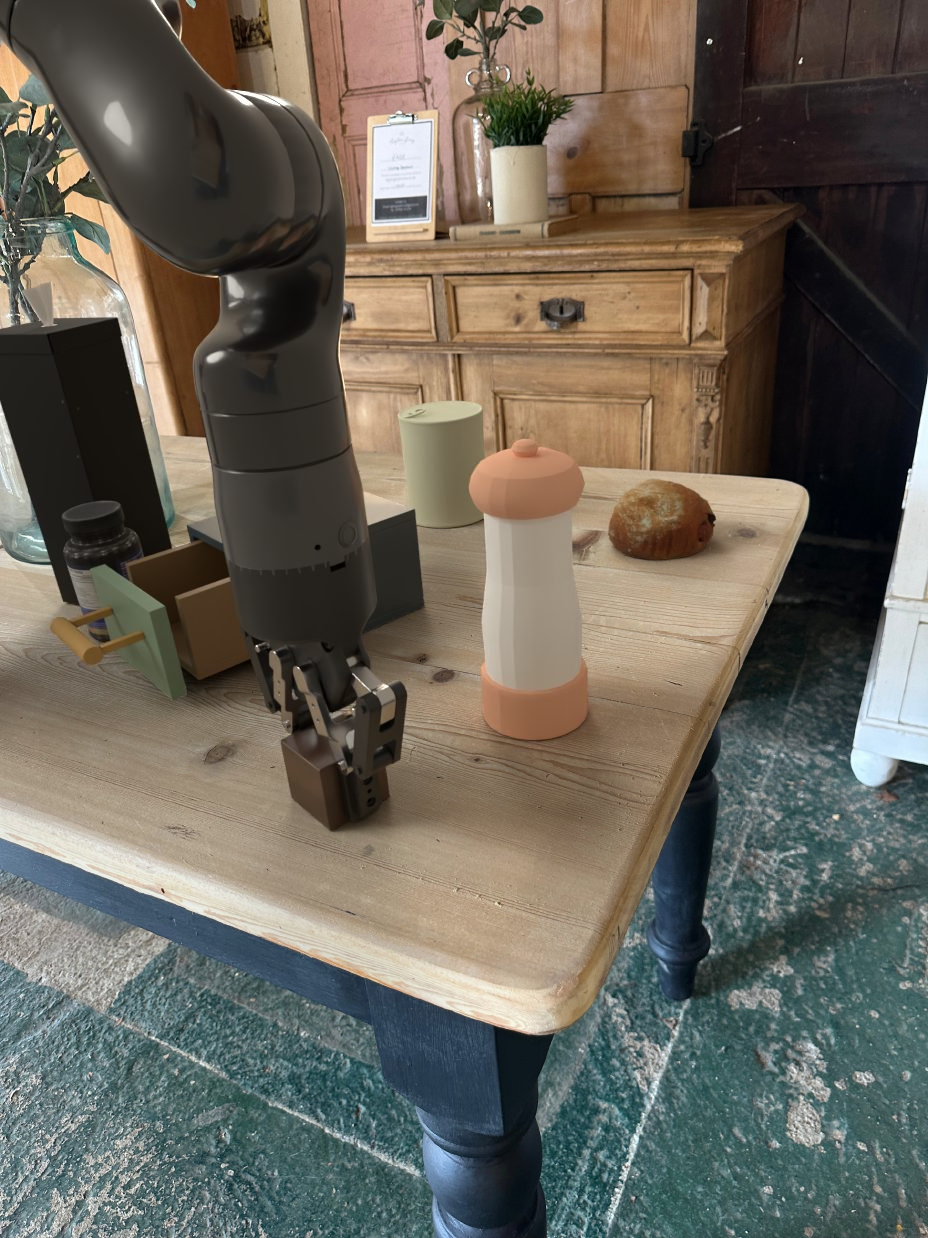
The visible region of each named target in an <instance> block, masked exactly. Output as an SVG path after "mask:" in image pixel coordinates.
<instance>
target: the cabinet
mask: <svg viewBox="0 0 928 1238" xmlns="http://www.w3.org/2000/svg"><path fill="white" fill-rule="evenodd" d="M363 493H364V501H365V509H366V517H367V525H368V532H369V540H370V548H371V555H372V563H373V571H374V579H375V586H376V594H377V604H376V607H375V610H374V612H373V613H372V615H371V616H370V618H369V619H368V621H367V622H366V624H365V626H364V628H363V631H362V635H363V634H365V633H367V632H370V631H372V630H374V629H376V628H379V627H381V626H384V625H385V624H388V623H390V622H392V621H395V620H397V619H399V618H401V617H404V616H406V615H408V614H411V613H413V612H415V611H418V610H420V609H422V608H424V607H425V606H426V603H425V595H424V594H425V593H424V585H423V575H422V574H423V573H422V566H421V565H422V564H421V555H420V545H419V535H418V525H417V524H416V513H415V509H414V508H411V507H408V505H405V504H402V503H399V502H396V501H394V500H390V499H387V498H384V497H381V496H378V495H376V494H373V493H371V492H368V491H364V490H363ZM186 529H187V533H188V538H189V543H191V542H194V541H197V540H202V541H204V542H205V543H207V544H209V545H211V546H213V547H215V548H217V549H219V550H221V551H222V552H224V548H223V544H222V539H221V534H220V530H219V525H218V520H217V515H213V516H210V517H207V518H204V519H201V520H196V521H195V522H191V523H187V524H186Z"/></svg>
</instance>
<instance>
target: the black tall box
mask: <svg viewBox="0 0 928 1238" xmlns="http://www.w3.org/2000/svg"><path fill="white" fill-rule="evenodd" d="M53 291H54V289H53V281H49V282H44V283H40V284H37V285H36V286H34V287H29V288H26V289H22V290H21V293H22V295H23V297H25V299H26V300H27V303H28V304H29V305H30V307H31V308H32V310H33V311H34V313H35V314H36V316H37V317H38V319H39V320H35V321H31V322H30V321H29V322H26V323H21V324H17V325H11V326H7V327H2V328H0V406H1V410H2V412H3V416H4V419H5V422H6V425H7V429H8V432H9V436H10V438H11V442H12V444H13V447H14V451H15V454H16V456H17V460H18V463H19V466H20V470H21V473H22V476H23V480H24V482H25V485H26V489H27V492H28V495H29V499H30V502H31V504H32V508H33V511H34V514H35V517H36V521H37V524H38V528H39V531H40V533H41V537H42V539H43V543H44V546H45V549H46V553H47V555H48V559H49V563H50V565H51V569H52V571H53V575H54V577H55V581H56V584H57V587H58V591H59V593H60V597H61V600H62V602H63V603H68V604H72V605H77V606H80V604H79V601H78V598H77V595H76V592H75V589H74V585H73V582H72V579H71V576H70V573H69V570H68V567H67V563H66V560H65V558H64V547H65V545H66V543H67V542H68V541H69V539H71V536H70V534H69V533H68V532H67V531H66V530H65V527H64V523H63V520H62V515H63V513H64V512H66V511H67V510H69V509H71V508H73V507H76V506H79V505H82V504H86V503H90V502H97V501H115V502H118V503H120V505H121V507H122V510H123V514H124V516H125V518H124V519H125V520H124V522H123V524H124V527H127V528H129V529H131V530H133V531H134V532H135V533H136V534H137V536H138V537H139V540H140V544H141V547H142V551H143V555H144V557H147V556H150V555H153V554H157V553H160V552H163V551H166V550H169V549H172V548H173V545H172V541H171V536H170V532H169V528H168V525H167V524H168V523H167V520H166V516H165V511H164V508H163V507H164V506H163V504H162V499H161V496H160V495H161V494H160V491H159V487H158V483H157V478H156V475H155V474H156V473H155V470H154V466H153V462H152V458H151V454H150V451H149V446H148V442H147V438H146V433H145V429H144V427H143V426H144V425H143V421H142V418H141V414H140V408H139V405H138V401H137V397H136V396H137V395H136V393H135V389H134V384H133V379H132V377H131V372H130V368H129V363H128V359H127V355H126V351H125V348H124V343H123V339H122V337H123V333H122V329H121V324H120V322H119V317H118V316H107V317H106V316H104V317H99V316H98V317H54V292H53Z"/></svg>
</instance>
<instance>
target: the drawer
mask: <svg viewBox="0 0 928 1238" xmlns="http://www.w3.org/2000/svg"><path fill="white" fill-rule="evenodd" d="M125 565H126V569H127V573H128V577H129V580H130V582H129V581H128V580H127V579H125V578H124V577H122V576H121V575H119V574H118V573H116V572H115V571H113V570H112V569H111V568H109V567H108V566H106V565H105V564H104V565H101V566H98V567H94V568H91V569H90V571H91V575H92V578H93V582H94V585H95V588H96V592H97V595H98V599H99V602H100V606H101V609H99V610H96V611H93V612H90V613H87V614H85V615H83V614H82V615H79V616H76V617H72V618H71V619H68V618H66V617H64V616H58V617H55V618H53V620H52V621H51V622H50V625H49V629H50V631H51V632H52V633H53V635H54V636H56V637H57V638H58V639H59V640H60V641H61V642H62V643H63V644H64V645H65V646H67V647H68V649H70V650H71V651H72V652H73V653H74V654H75V655H76V656H77V657H78V659H80V660H81V661H82V662H83V663H84V664H86V665H87V666H96V665H98V664H100V663H101V662H102V660H103V659H104V655H106V654H110V653H113V652H115V653H116V654H117V655H119V656H120V657H121V658H122V659H123V660H125V661H126V662H127V663H128V664H129V665H130V666H132V667H133V668H134V669H135V670H136V671H137V672H139V673H140V674H141V675H142V676H143V677H144V678H146V679H147V680H148V681H149V682H150V683H152V685H154V686H155V687H156V688H157V689H158V690H159V691H161V692H162V693H163V694H164V695H165V696H166V697H168V698H169V700H171V701H176V700H178V699H180V698H182V697H185V696H187V695H188V691H187V686H186V683H185V678H184V674H183V671H182V668H183V669H184V670H186V671H187V672H188V673H189V674H190V675H192V676H193V677H194V678H196V679H197V681H202V680H204V679H205V678H209V677H211V676H213V675H215V674H218V673H220V672H222V671H225V670H228V669H230V668H232V667H235V666H236V665H239V664H242V663H243V662H246V661H249V660H251V659H250V656H249V653H248V650H247V647H246V644H245V641H244V638H243V635H242V633H241V625H240V622H239V619H238V614H237V610H236V605H235V600H234V596H233V591H232V586H231V581H230V577H229V572H228V567H227V562H226V558H225V553H224V552H222V551H221V550H219V549H217V548H215V547H213V546H211V545H209V544H207V543H205V542H204V541H202V540H197V541H194V542H188V543H184V544H182V545H179V546H176V547H172V549H169V550H166V551H163V552H160V553H157V554H153V555H150V556H147V557H144V558H141V559H138V560H135V561H132V562H129V563H126V564H125ZM102 618H104V619H105V623H106V626H107V630H108V633H109V636H110V640H111V641H105V642H104V643H101V644H98V645H97V643H95V642H94V641H93V640H92V639H90V638H89V637H88V636H87V635H86V634H85V633H84V632H83V631H81V630H80V629H79V628H80V627H82V626H83V627H84V626H86V624H88V623H91V622H94V621H97V620H100V619H102Z"/></svg>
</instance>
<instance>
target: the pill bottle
mask: <svg viewBox="0 0 928 1238" xmlns="http://www.w3.org/2000/svg"><path fill="white" fill-rule="evenodd" d="M124 518H125V516H124V514H123V510H122V507H121V505H120V503H118V502H115V501H97V502H90V503H86V504H82V505H79V506H76V507H73V508H71V509H69V510H67V511H66V512H64V513H63V515H62V520H63V523H64V527H65V530H66V531H67V532H68V533H69V534H70V536H71V539H69V541H68V542H67V543H66V545H65V547H64V558H65V560H66V563H67V567H68V570H69V573H70V576H71V579H72V582H73V585H74V589H75V592H76V595H77V598H78V601H79V604H80V605H79V608H80V610H81V613H82V615H85V614H87V613H90V612H93V611H96V610H99V609H101V606H100V602H99V599H98V595H97V592H96V588H95V585H94V582H93V578H92V575H91V571H90V569H91V568H94V567H98V566H101V565H104V564H105V565H106V566H108V567H109V568H111V569H112V570H113V571H115V572H116V573H118V574H119V575H121V576H122V577H124V578H125V579H127V580H128V581H129V582H130V580H129V577H128V573H127V569H126V565H125V564H126V563H129V562H132V561H135V560H138V559H141V558H144V555H143V551H142V547H141V544H140V540H139V537H138V536H137V534H136V533H135V532H134V531H133V530H131V529H129V528H127V527H124V524H123V522H124V520H125V519H124ZM85 627H86V629H87V632H88V634H89V635H90V637H92V638H93V639H95V640H96V641H97V640H98V641H102V642H109V641H111V640H110V636H109V633H108V630H107V626H106V623H105V619H104V618H102V619H100V620H97V621H94V622H91V623H88V624H85Z"/></svg>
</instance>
